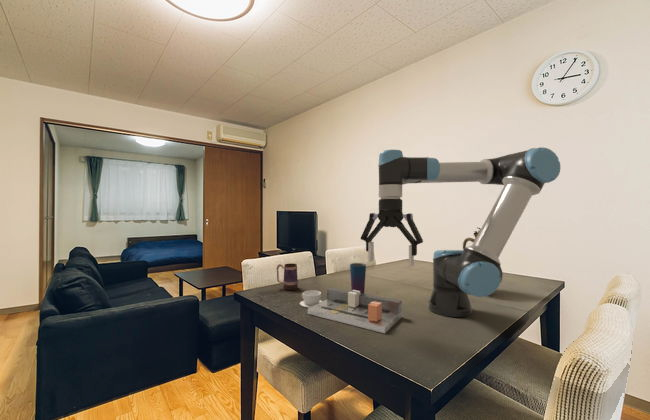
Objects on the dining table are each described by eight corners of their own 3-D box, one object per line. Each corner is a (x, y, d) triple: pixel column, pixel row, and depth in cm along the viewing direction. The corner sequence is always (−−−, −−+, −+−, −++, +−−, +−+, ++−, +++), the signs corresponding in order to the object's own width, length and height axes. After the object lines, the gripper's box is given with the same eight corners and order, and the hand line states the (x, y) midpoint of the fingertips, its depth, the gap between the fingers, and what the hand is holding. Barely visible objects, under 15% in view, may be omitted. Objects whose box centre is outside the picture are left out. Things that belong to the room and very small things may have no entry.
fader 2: (382, 317, 97) (382, 302, 97) (376, 321, 94) (376, 305, 93) (373, 315, 99) (373, 300, 99) (368, 319, 95) (368, 303, 95)
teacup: (328, 303, 119) (328, 291, 119) (314, 310, 111) (314, 298, 111) (309, 298, 125) (309, 288, 125) (294, 305, 116) (294, 294, 116)
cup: (365, 302, 119) (365, 266, 119) (349, 301, 120) (349, 265, 120) (366, 297, 126) (366, 263, 126) (350, 296, 127) (350, 262, 127)
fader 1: (360, 304, 110) (360, 290, 110) (355, 307, 107) (355, 293, 107) (353, 302, 112) (353, 289, 112) (347, 305, 108) (347, 292, 108)
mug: (297, 286, 144) (297, 262, 144) (298, 290, 137) (298, 265, 137) (277, 287, 142) (276, 262, 142) (276, 291, 135) (276, 265, 135)
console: (401, 317, 103) (401, 300, 103) (384, 333, 90) (384, 314, 90) (330, 301, 120) (330, 287, 120) (307, 313, 107) (307, 297, 107)
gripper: (433, 198, 90) (432, 265, 91) (360, 199, 104) (360, 258, 104) (427, 197, 84) (426, 270, 84) (351, 198, 98) (351, 261, 98)
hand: (390, 263), depth 94 cm, fingers open, 13 cm apart
